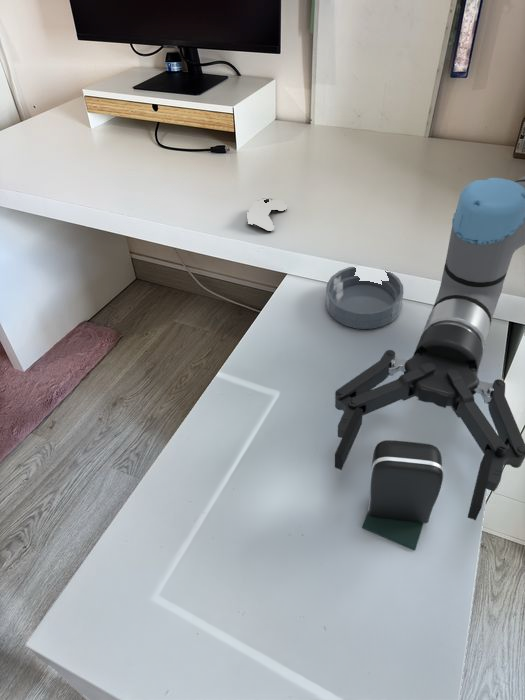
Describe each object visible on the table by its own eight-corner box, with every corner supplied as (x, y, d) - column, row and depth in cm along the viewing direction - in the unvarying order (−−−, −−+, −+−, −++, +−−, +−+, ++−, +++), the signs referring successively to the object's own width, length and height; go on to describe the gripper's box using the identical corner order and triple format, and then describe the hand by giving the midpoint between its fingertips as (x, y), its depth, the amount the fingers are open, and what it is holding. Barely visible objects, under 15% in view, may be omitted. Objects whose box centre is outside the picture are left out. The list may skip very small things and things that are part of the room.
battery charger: (429, 494, 58) (445, 438, 50) (430, 525, 56) (447, 472, 48) (367, 487, 60) (373, 432, 52) (366, 517, 57) (372, 464, 49)
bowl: (410, 291, 84) (412, 274, 81) (387, 338, 77) (389, 321, 74) (342, 275, 88) (342, 259, 86) (315, 319, 81) (314, 302, 79)
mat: (433, 489, 59) (434, 487, 59) (415, 550, 55) (415, 549, 54) (384, 470, 62) (384, 469, 61) (361, 528, 57) (362, 526, 57)
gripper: (552, 393, 61) (528, 553, 48) (354, 339, 70) (290, 462, 57) (574, 349, 55) (553, 517, 43) (356, 298, 65) (286, 423, 52)
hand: (402, 486), depth 50 cm, fingers open, 13 cm apart
